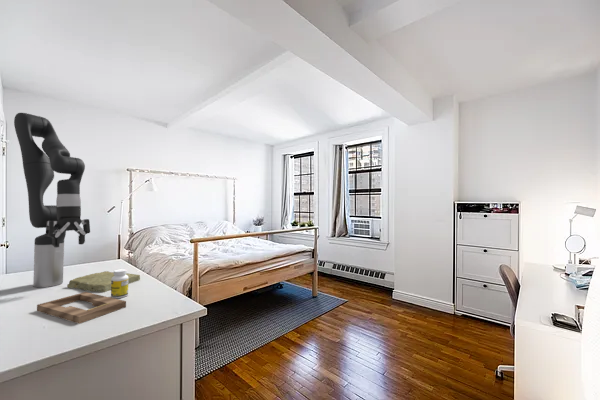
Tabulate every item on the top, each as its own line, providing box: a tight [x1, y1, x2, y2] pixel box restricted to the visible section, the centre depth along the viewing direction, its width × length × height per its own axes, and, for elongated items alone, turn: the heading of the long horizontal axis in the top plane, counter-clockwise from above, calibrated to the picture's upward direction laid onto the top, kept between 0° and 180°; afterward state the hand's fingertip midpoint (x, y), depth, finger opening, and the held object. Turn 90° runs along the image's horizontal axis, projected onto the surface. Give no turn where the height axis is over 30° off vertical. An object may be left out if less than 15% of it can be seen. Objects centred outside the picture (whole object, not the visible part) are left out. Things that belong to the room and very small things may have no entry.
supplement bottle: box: [110, 268, 129, 299], centre depth 102 cm, size 5×5×10 cm
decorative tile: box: [66, 270, 141, 293], centre depth 117 cm, size 19×20×4 cm
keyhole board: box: [36, 291, 127, 325], centre depth 90 cm, size 22×14×2 cm, turn 68°
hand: (69, 245), depth 110 cm, fingers open, 8 cm apart
